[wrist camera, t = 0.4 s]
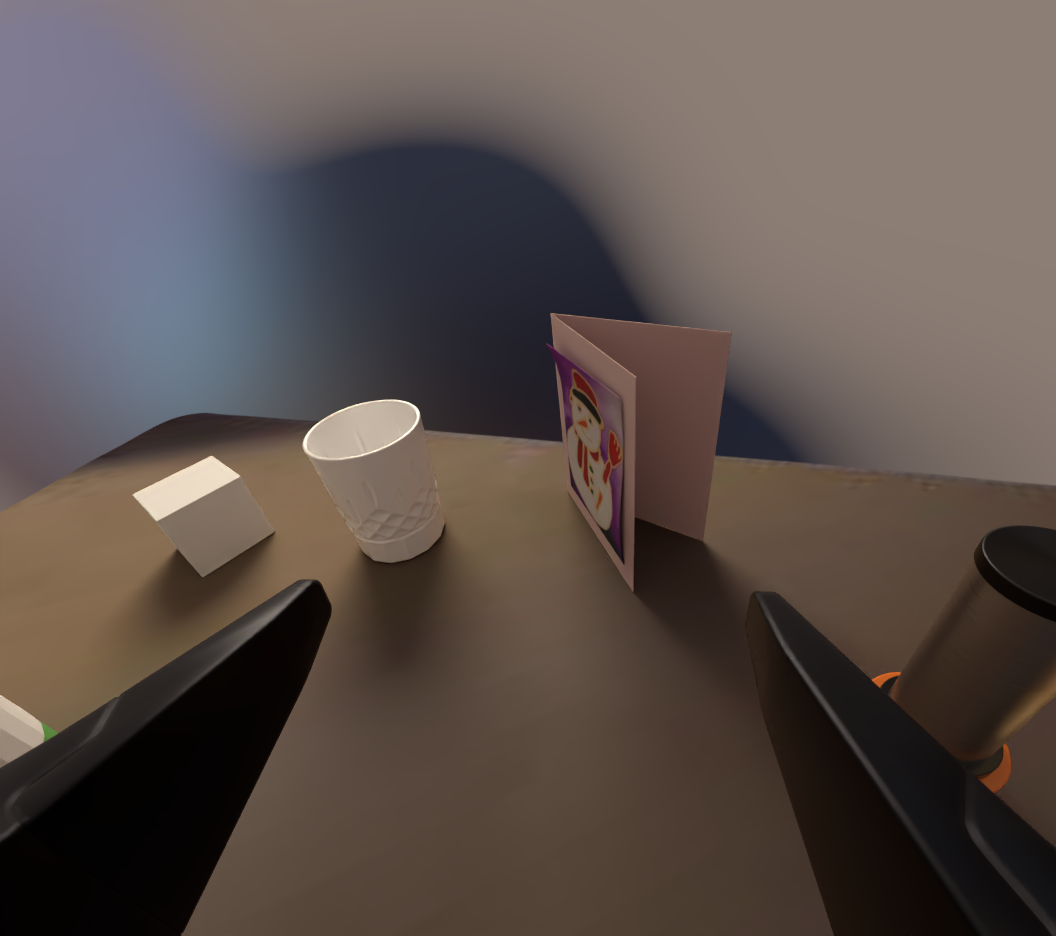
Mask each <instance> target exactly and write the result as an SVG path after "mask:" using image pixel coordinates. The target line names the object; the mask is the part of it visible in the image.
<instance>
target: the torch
mask: <svg viewBox="0 0 1056 936" xmlns="http://www.w3.org/2000/svg"><path fill="white" fill-rule="evenodd" d="M872 681H873V682H874V683H875V684H876V685H877V686H878V687H880V688H881V689H882V690H883V691H884V692H885V693H886V694H887V695H888V696H889V697H890V698H891V699H893V700H894V701H895V702H896V703H897V704H898V705H899V706H900V707H901V708H902V709H903V710H904V711H905V712H907V713H908V714H909V715H910V716H911V717H912V718H913V719H914V720H915V721H916V722H917V723H918V724H920V725H921V726H922V727H923V728H924V729H925V730H926V731H927V732H928V733H929V734H930V735H931V736H932V737H934V738H935V739H936V740H937V741H938V742H939V743H940V744H941V745H942V746H943V747H944V748H945V749H947V750H948V751H949V752H950V753H951V754H952V755H953V756H954V757H955V758H956V759H957V760H958V761H959V762H961V763H962V764H963V765H964V767H965V771H970V772H972V773H973V774H974V775H975V776H976V777H977V778H978V779H979V780H980V781H981V782H982V783H984V784H985V785H986V786H987V787H988V788H989V789H990V790H991V791H992V792H993V793H994V794H995V793H996V792H997V791H998V790H999V789H1001V788H1002V787H1003V786H1004V785H1005V784H1006V782H1007V780H1008V779H1009V776H1010V773H1011V758H1010V753H1009V750H1008V747H1007V745H1006V742H1007V741H1008V740H1009V739H1010V738H1011V737H1012V736H1013V735H1014V734H1015V733H1017V732H1018V731H1019V730H1020V729H1021V728H1022V727H1023V726H1024V725H1025V724H1026V723H1027V722H1028V721H1029V720H1030V719H1032V718H1033V717H1034V716H1035V715H1036V714H1037V713H1038V712H1039V711H1040V710H1041V709H1042V708H1043V707H1044V706H1045V705H1046V704H1048V703H1049V702H1050V701H1051V700H1052V699H1053V698H1054V697H1055V696H1056V530H1053V529H1048V528H1043V527H1036V526H1023V525H1016V526H1005V527H1001V528H997V529H995V530H992V531H990V532H989V533H987V534H986V535H985V536H984V537H983V539H982V540H981V542H980V543H979V545H978V547H977V548H976V550H975V553H974V561H973V563H972V564H971V566H970V567H969V569H968V570H967V572H966V573H965V575H964V576H963V578H962V580H961V581H960V583H959V584H958V586H957V587H956V589H955V590H954V592H953V593H952V595H951V596H950V598H949V600H948V601H947V603H946V604H945V606H944V607H943V609H942V610H941V612H940V613H939V615H938V617H937V618H936V620H935V621H934V623H933V624H932V626H931V627H930V629H929V630H928V632H927V634H926V635H925V637H924V638H923V640H922V641H921V643H920V644H919V646H918V647H917V649H916V651H915V652H914V654H913V655H912V657H911V658H910V660H909V661H908V663H907V664H906V666H905V668H904V669H903V671H902V672H893V673H886V674H883V675H880V676H877V677H875V678H874V679H872Z"/></svg>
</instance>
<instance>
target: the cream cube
mask: <svg viewBox="0 0 1056 936" xmlns="http://www.w3.org/2000/svg"><path fill="white" fill-rule="evenodd" d="M133 496H134V497H135V498H136V499H137V501H138V502H139V503H140V504H141V505H142V507H143V508H144V509H145V510H146V512H147V513H148V514H149V515H150V516H151V518H152V519H153V520H154V521H155V523H156V524H157V525H158V526H159V527H160V529H161V530H162V531H163V532H164V534H165V535H166V536H167V537H168V538H169V540H170V541H171V542H172V543H173V545H174V546H175V547H176V548H177V549H178V550H179V552H180V553H181V554H182V555H183V556H184V557H185V558H186V560H187V561H188V562H189V563H190V564H191V565H192V566H193V567H194V569H195V570H196V571H197V572H198V573H199V574H200V575H201V576H202V578H203V577H204V576H206V575H208V574H209V573H211V572H212V571H214V570H215V569H217V568H219V567H220V566H222V565H223V564H225V563H226V562H228V561H230V560H231V559H233V558H234V557H236V556H237V555H239V554H241V553H242V552H244V551H245V550H247V549H249V548H250V547H252V546H253V545H255V544H256V543H258V542H260V541H261V540H263V539H264V538H266V537H267V536H269V535H271V534H272V533H274V532H275V531H274V529H273V527H272V526H271V524H270V523H269V521H268V519H267V518H266V516H265V514H264V513H263V511H262V510H261V508H260V506H259V505H258V503H257V502H256V500H255V498H254V497H253V495H252V494H251V492H250V490H249V489H248V487H247V485H246V484H245V482H244V481H243V479H242V477H241V476H240V475H238V474H237V473H235V472H234V471H233V470H231V469H230V468H228V467H227V466H225V465H224V464H223V463H221V462H220V461H218V460H217V459H215V458H214V457H213V456H210V457H208V458H206V459H204V460H202V461H200V462H198V463H196V464H194V465H192V466H190V467H188V468H186V469H184V470H182V471H179V472H177V473H175V474H173V475H171V476H169V477H167V478H165V479H163V480H161V481H159V482H157V483H155V484H153V485H151V486H149V487H147V488H145V489H143V490H141V491H139V492H137V493H134V494H133Z"/></svg>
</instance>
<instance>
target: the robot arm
mask: <svg viewBox="0 0 1056 936" xmlns="http://www.w3.org/2000/svg"><path fill="white" fill-rule="evenodd" d="M331 612H332V607H331V603H330V601H329V599H328V597H327V595H326V593H325V591H324V589H323V586H322V584H321V583H320V582H319V581H318V580H305V579H303V580H299V581H297V582H295V583H293V584H292V585H290V586H289V587H287V588H286V589H284V590H282V591H281V592H279V593H278V594H276V595H275V596H273V597H272V598H270V599H268V600H267V601H265V602H264V603H262V604H261V605H259V606H257V607H256V608H254V609H253V610H251V611H250V612H248V613H247V614H245V615H243V616H242V617H240V618H239V619H237V620H236V621H234V622H232V623H231V624H229V625H228V626H226V627H225V628H223V629H222V630H220V631H218V632H217V633H215V634H214V635H212V636H211V637H209V638H208V639H206V640H204V641H203V642H201V643H200V644H198V645H197V646H195V647H193V648H192V649H190V650H189V651H187V652H186V653H184V654H183V655H181V656H179V657H178V658H176V659H175V660H173V661H172V662H170V663H168V664H167V665H165V666H164V667H162V668H161V669H159V670H158V671H156V672H154V673H153V674H151V675H150V676H148V677H147V678H145V679H143V680H142V681H140V682H139V683H137V684H136V685H134V686H133V687H131V688H129V689H128V690H126V691H125V692H123V693H122V694H121V695H120V696H119V697H115V698H114V699H112V700H111V701H109V702H107V703H106V704H104V705H103V706H101V707H100V708H98V709H97V710H95V711H94V712H92V713H90V714H89V715H87V716H86V717H84V718H82V719H81V720H79V721H77V722H76V723H74V724H73V725H71V726H69V727H68V728H66V729H65V730H63V731H61V732H60V733H58V734H57V735H55V736H53V737H51V738H50V739H48V740H46V741H45V742H43V743H41V744H40V745H38V746H36V747H35V748H33V749H31V750H30V751H28V752H26V753H24V754H23V755H21V756H19V757H18V758H16V759H14V760H13V761H11V762H9V763H7V764H6V765H4V766H2V767H1V768H0V936H181V934H182V933H183V932H184V930H185V928H186V926H187V924H188V922H189V920H190V918H191V916H192V914H193V912H194V909H195V907H196V905H197V903H198V901H199V899H200V897H201V895H202V893H203V891H204V889H205V887H206V885H207V883H208V881H209V879H210V877H211V875H212V873H213V871H214V869H215V867H216V865H217V862H218V860H219V858H220V856H221V854H222V852H223V850H224V848H225V846H226V844H227V842H228V840H229V838H230V836H231V834H232V832H233V830H234V828H235V826H236V824H237V822H238V820H239V818H240V816H241V813H242V811H243V809H244V807H245V805H246V803H247V801H248V799H249V797H250V795H251V793H252V791H253V789H254V787H255V785H256V783H257V781H258V779H259V777H260V775H261V773H262V771H263V769H264V766H265V764H266V762H267V760H268V758H269V756H270V754H271V752H272V750H273V748H274V746H275V744H276V742H277V740H278V738H279V736H280V734H281V732H282V730H283V728H284V726H285V724H286V722H287V719H288V717H289V715H290V713H291V711H292V709H293V707H294V705H295V703H296V701H297V699H298V697H299V695H300V693H301V691H302V689H303V686H304V684H305V682H306V680H307V677H308V675H309V672H310V670H311V667H312V665H313V662H314V659H315V657H316V654H317V651H318V649H319V646H320V643H321V641H322V638H323V636H324V633H325V630H326V628H327V625H328V622H329V620H330V617H331ZM746 635H747V640H748V645H749V649H750V654H751V659H752V664H753V669H754V674H755V679H756V684H757V689H758V694H759V698H760V703H761V708H762V712H763V716H764V720H765V723H766V726H767V730H768V733H769V736H770V739H771V742H772V745H773V748H774V751H775V754H776V757H777V761H778V764H779V767H780V770H781V773H782V776H783V779H784V782H785V785H786V788H787V792H788V795H789V798H790V801H791V804H792V807H793V810H794V813H795V816H796V819H797V822H798V826H799V829H800V832H801V835H802V838H803V841H804V844H805V847H806V850H807V853H808V856H809V860H810V863H811V866H812V869H813V872H814V875H815V878H816V881H817V884H818V887H819V890H820V894H821V897H822V900H823V903H824V906H825V909H826V912H827V915H828V918H829V921H830V924H831V928H832V931H833V934H834V936H1056V848H1055V847H1054V846H1053V845H1051V844H1050V843H1049V842H1048V841H1047V840H1046V839H1044V838H1043V837H1042V836H1041V835H1040V834H1039V833H1038V832H1037V831H1035V830H1034V829H1033V828H1032V827H1031V826H1030V825H1029V824H1028V823H1027V822H1025V821H1024V820H1023V819H1022V818H1021V817H1020V816H1019V815H1018V814H1017V813H1015V812H1014V811H1013V810H1012V809H1011V808H1010V807H1009V806H1008V805H1006V804H1005V803H1004V802H1003V801H1002V800H1001V799H1000V798H999V797H998V796H996V795H995V794H994V793H993V792H992V791H991V790H990V789H989V788H988V787H987V786H986V785H985V784H984V783H982V782H981V781H980V780H979V779H978V778H977V777H976V776H975V775H974V774H973V773H972V772H970V771H965V767H964V765H963V764H962V763H961V762H959V761H958V760H957V759H956V758H955V757H954V756H953V755H952V754H951V753H950V752H949V751H948V750H947V749H945V748H944V747H943V746H942V745H941V744H940V743H939V742H938V741H937V740H936V739H935V738H934V737H932V736H931V735H930V734H929V733H928V732H927V731H926V730H925V729H924V728H923V727H922V726H921V725H920V724H918V723H917V722H916V721H915V720H914V719H913V718H912V717H911V716H910V715H909V714H908V713H907V712H905V711H904V710H903V709H902V708H901V707H900V706H899V705H898V704H897V703H896V702H895V701H894V700H893V699H891V698H890V697H889V696H888V695H887V694H886V693H885V692H884V691H883V690H882V689H881V688H880V687H878V686H877V685H876V684H875V683H874V682H873V681H872V680H871V679H870V678H869V677H868V676H867V675H866V674H864V673H863V672H862V671H861V670H860V669H859V668H858V667H857V666H856V665H855V664H854V663H853V662H852V661H850V660H849V659H848V658H847V657H846V656H845V655H844V654H843V653H842V652H841V651H840V650H839V649H837V648H836V647H835V646H834V645H833V644H832V643H831V642H830V641H829V640H828V639H827V638H826V637H825V636H823V635H822V634H821V633H820V632H819V631H818V630H817V629H816V628H815V627H814V626H813V625H812V624H810V623H809V622H808V621H807V620H806V619H805V618H804V617H803V616H802V615H801V614H800V613H799V612H798V611H796V610H795V609H794V608H793V607H792V606H791V605H790V604H789V603H788V602H787V601H786V600H785V599H783V598H782V597H781V596H780V595H779V594H777V593H775V592H760V591H756V592H753V593H752V594H751V597H750V601H749V607H748V612H747V617H746Z"/></svg>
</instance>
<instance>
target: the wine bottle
mask: <svg viewBox="0 0 1056 936" xmlns="http://www.w3.org/2000/svg"><path fill="white" fill-rule="evenodd" d="M57 734H58V733H57V732H56V731H54V730H53V729H51V728H49V727H48V726H46V725H45V724H43V723H42V722H40V721H39V720H37V719H36V718H34V717H33V716H32V715H30V714H29V713H28V712H26V711H24V710H23V709H21V708H20V707H18V706H17V705H15V704H13V703H12V702H10V701H9V700H7V699H6V698H4V697H3V696H1V695H0V768H1V767H2V766H4V765H6V764H7V763H9V762H11V761H13V760H14V759H16V758H18V757H19V756H21V755H23V754H24V753H26V752H28V751H30V750H31V749H33V748H35V747H36V746H38V745H40V744H41V743H43V742H45V741H46V740H48V739H50V738H51V737H53V736H55V735H57Z"/></svg>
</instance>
